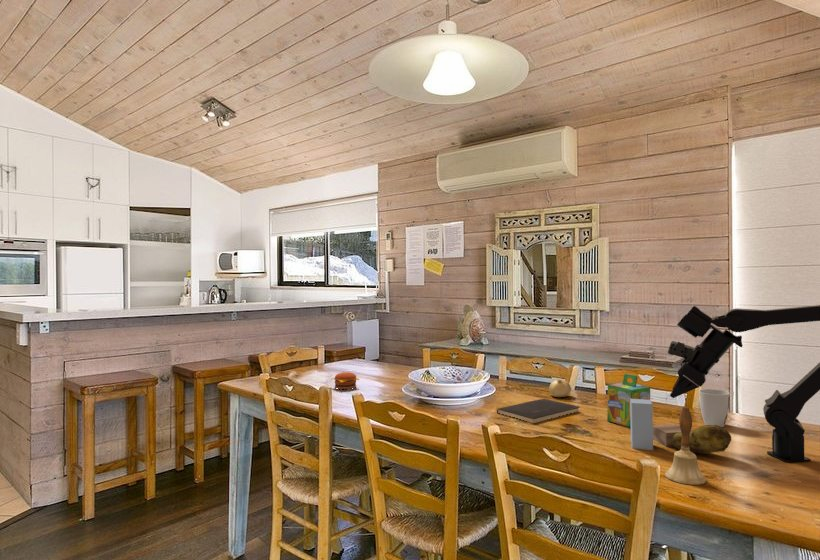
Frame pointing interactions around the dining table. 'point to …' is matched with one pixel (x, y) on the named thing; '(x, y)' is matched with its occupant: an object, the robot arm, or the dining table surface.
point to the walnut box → (665, 434)
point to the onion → (560, 388)
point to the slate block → (641, 424)
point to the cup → (714, 406)
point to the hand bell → (685, 456)
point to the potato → (705, 439)
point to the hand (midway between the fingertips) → (672, 393)
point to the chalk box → (624, 399)
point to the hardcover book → (538, 410)
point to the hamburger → (345, 380)
